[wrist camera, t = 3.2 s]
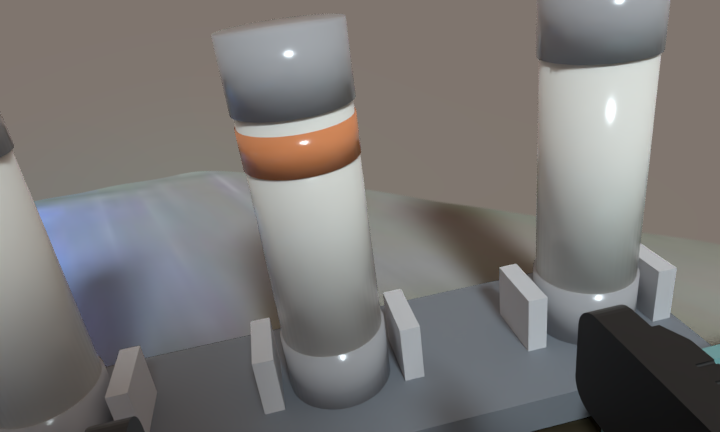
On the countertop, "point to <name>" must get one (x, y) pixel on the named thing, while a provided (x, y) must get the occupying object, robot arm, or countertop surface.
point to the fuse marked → (309, 199)
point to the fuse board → (392, 368)
